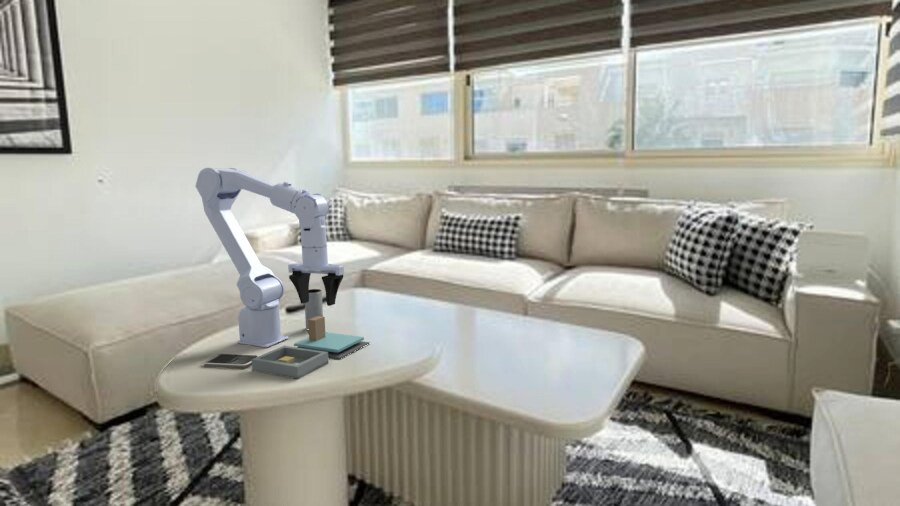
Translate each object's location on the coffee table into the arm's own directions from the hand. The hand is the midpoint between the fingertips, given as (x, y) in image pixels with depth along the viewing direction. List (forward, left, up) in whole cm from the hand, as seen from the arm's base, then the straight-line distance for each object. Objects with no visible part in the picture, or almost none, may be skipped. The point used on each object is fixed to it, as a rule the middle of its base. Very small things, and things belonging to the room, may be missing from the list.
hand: (317, 303), depth 129 cm
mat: (+3, 0, -10) cm, 11 cm away
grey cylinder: (-11, +12, -11) cm, 19 cm away
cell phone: (-11, -17, -11) cm, 23 cm away
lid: (+3, 0, -9) cm, 10 cm away
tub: (+3, -14, -10) cm, 18 cm away
